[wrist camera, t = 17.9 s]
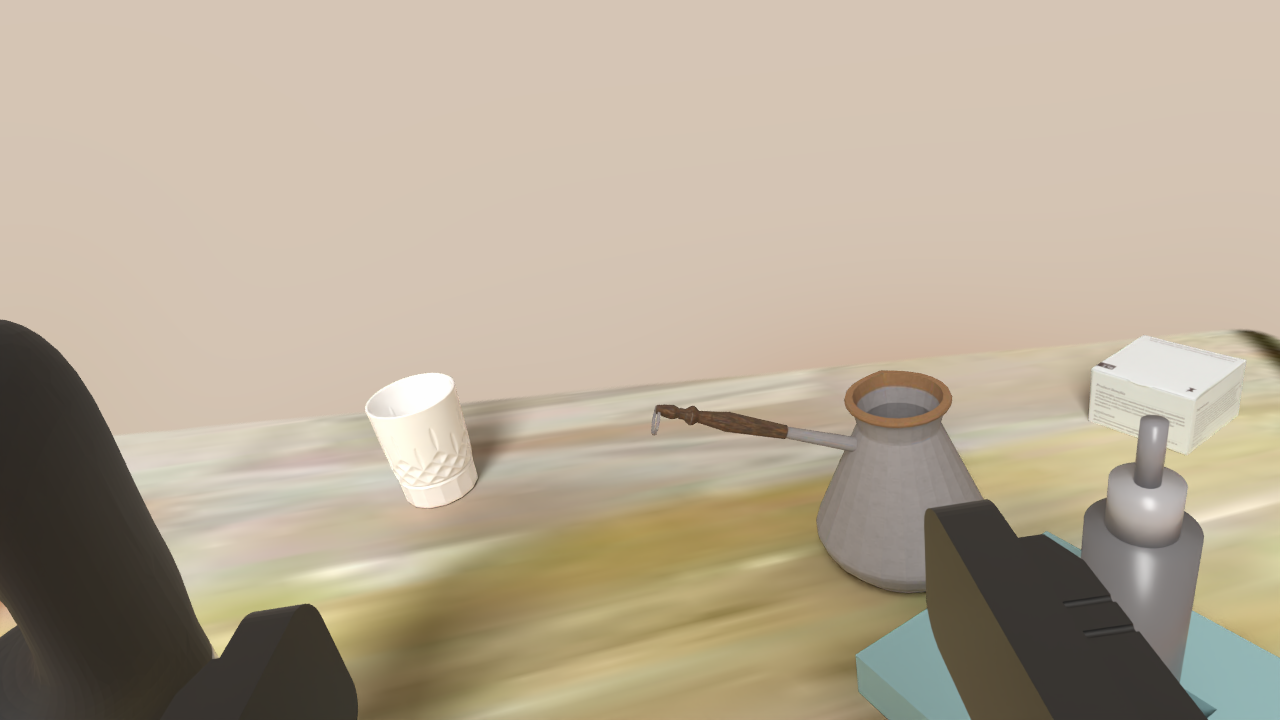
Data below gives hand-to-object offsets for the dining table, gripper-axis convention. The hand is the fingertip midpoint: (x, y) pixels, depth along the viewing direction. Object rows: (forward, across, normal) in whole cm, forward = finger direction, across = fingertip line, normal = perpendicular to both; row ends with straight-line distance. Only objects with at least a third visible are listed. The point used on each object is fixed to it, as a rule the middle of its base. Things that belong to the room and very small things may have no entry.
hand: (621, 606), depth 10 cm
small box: (+46, -38, +32) cm, 68 cm away
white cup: (+53, +23, +32) cm, 66 cm away
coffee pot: (+35, -9, +32) cm, 48 cm away
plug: (+19, -20, +32) cm, 42 cm away
